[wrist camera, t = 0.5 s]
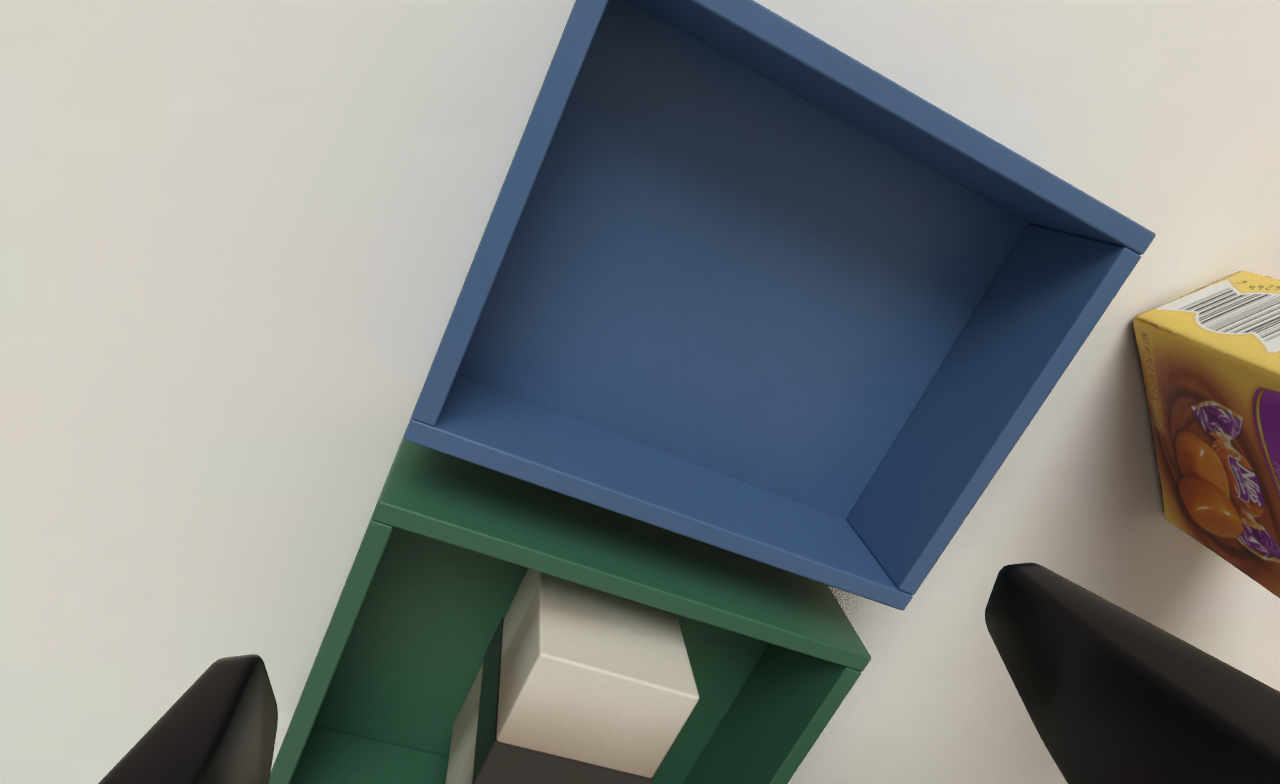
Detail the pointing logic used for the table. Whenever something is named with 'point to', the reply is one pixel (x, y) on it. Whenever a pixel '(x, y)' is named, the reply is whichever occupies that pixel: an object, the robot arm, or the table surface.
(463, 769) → the parcel
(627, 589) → the green tote
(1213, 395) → the candy box
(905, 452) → the blue tote
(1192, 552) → the table surface
